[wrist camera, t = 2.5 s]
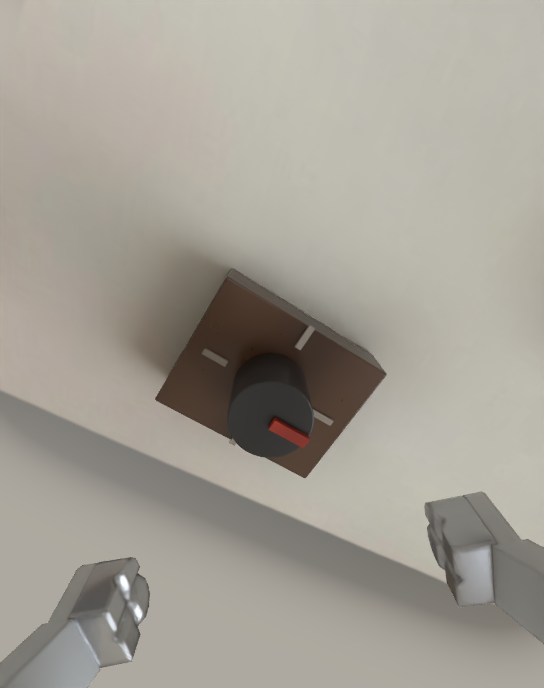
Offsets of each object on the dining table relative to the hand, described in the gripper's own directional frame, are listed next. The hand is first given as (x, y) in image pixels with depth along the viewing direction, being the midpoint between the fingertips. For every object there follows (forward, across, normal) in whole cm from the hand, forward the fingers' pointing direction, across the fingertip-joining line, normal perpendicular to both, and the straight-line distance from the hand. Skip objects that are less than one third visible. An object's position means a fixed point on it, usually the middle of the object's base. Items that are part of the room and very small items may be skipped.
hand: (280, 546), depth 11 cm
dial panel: (+14, 0, 0) cm, 14 cm away
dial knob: (+11, 0, 0) cm, 11 cm away
